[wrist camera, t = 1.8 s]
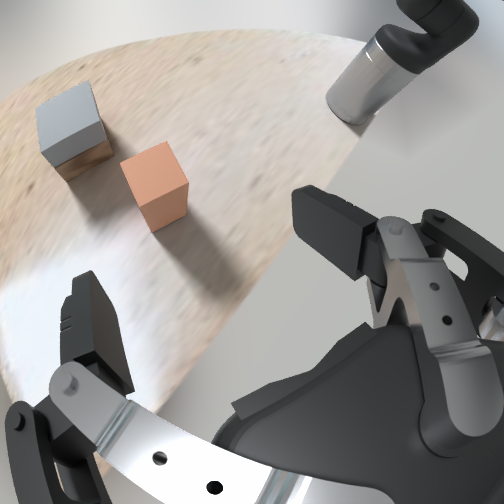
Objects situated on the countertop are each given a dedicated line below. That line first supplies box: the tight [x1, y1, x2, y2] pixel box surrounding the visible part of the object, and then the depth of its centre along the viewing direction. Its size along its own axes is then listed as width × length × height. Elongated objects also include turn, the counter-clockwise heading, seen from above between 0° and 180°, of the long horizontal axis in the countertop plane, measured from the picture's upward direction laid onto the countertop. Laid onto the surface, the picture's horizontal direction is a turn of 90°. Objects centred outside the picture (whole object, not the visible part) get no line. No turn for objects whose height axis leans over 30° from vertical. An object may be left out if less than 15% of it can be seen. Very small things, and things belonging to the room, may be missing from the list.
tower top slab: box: [36, 80, 107, 168], centre depth 26 cm, size 8×8×4 cm
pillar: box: [120, 141, 189, 233], centre depth 28 cm, size 5×5×11 cm
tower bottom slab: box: [55, 117, 114, 182], centre depth 30 cm, size 8×8×4 cm
